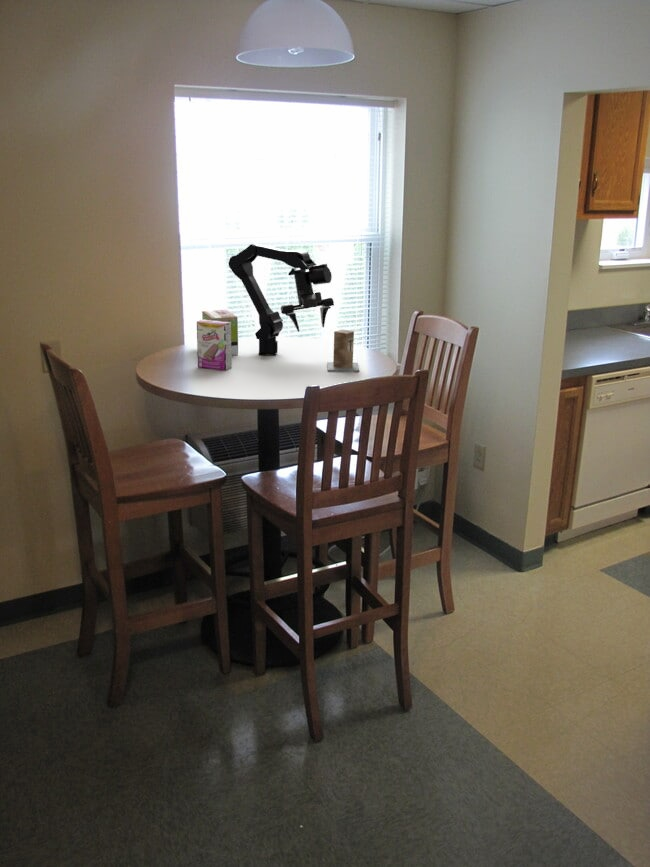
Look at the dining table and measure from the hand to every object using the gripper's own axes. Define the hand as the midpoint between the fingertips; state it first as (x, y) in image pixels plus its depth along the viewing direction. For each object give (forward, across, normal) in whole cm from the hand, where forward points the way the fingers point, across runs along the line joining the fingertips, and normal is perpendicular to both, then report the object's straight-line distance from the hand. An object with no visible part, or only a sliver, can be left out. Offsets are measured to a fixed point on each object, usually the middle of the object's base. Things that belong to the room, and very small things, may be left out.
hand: (310, 329), depth 277 cm
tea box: (+4, -33, +18) cm, 38 cm away
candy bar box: (+7, -37, -7) cm, 38 cm away
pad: (+14, +7, -12) cm, 20 cm away
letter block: (+14, +7, -12) cm, 19 cm away
